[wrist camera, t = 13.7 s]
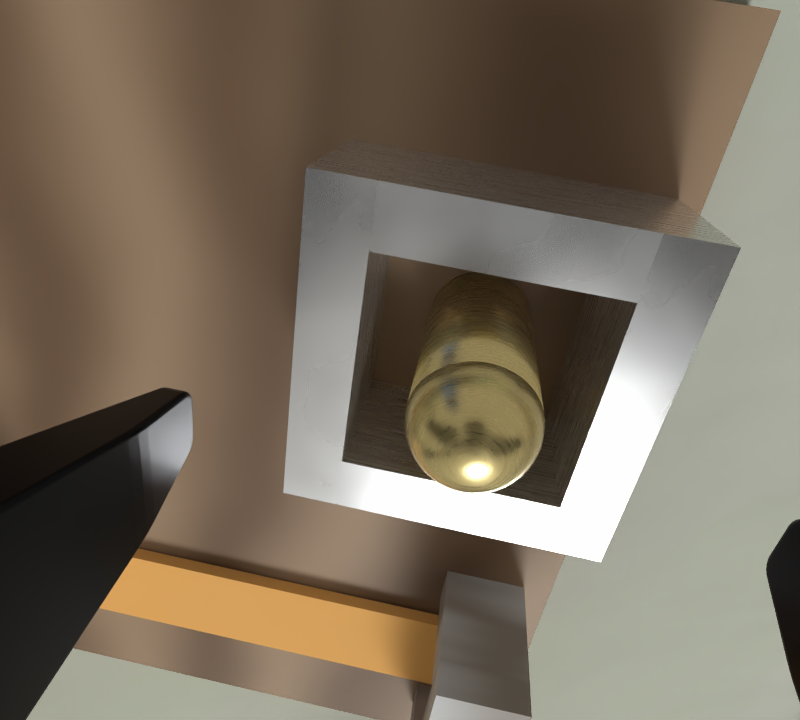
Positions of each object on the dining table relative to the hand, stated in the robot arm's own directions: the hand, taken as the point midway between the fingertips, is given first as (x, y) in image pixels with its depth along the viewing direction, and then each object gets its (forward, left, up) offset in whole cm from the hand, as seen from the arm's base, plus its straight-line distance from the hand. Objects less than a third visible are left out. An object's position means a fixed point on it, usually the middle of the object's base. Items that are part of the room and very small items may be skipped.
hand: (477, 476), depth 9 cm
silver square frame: (0, 0, -6) cm, 6 cm away
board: (-6, -5, -8) cm, 11 cm away
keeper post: (0, 0, -6) cm, 6 cm away
